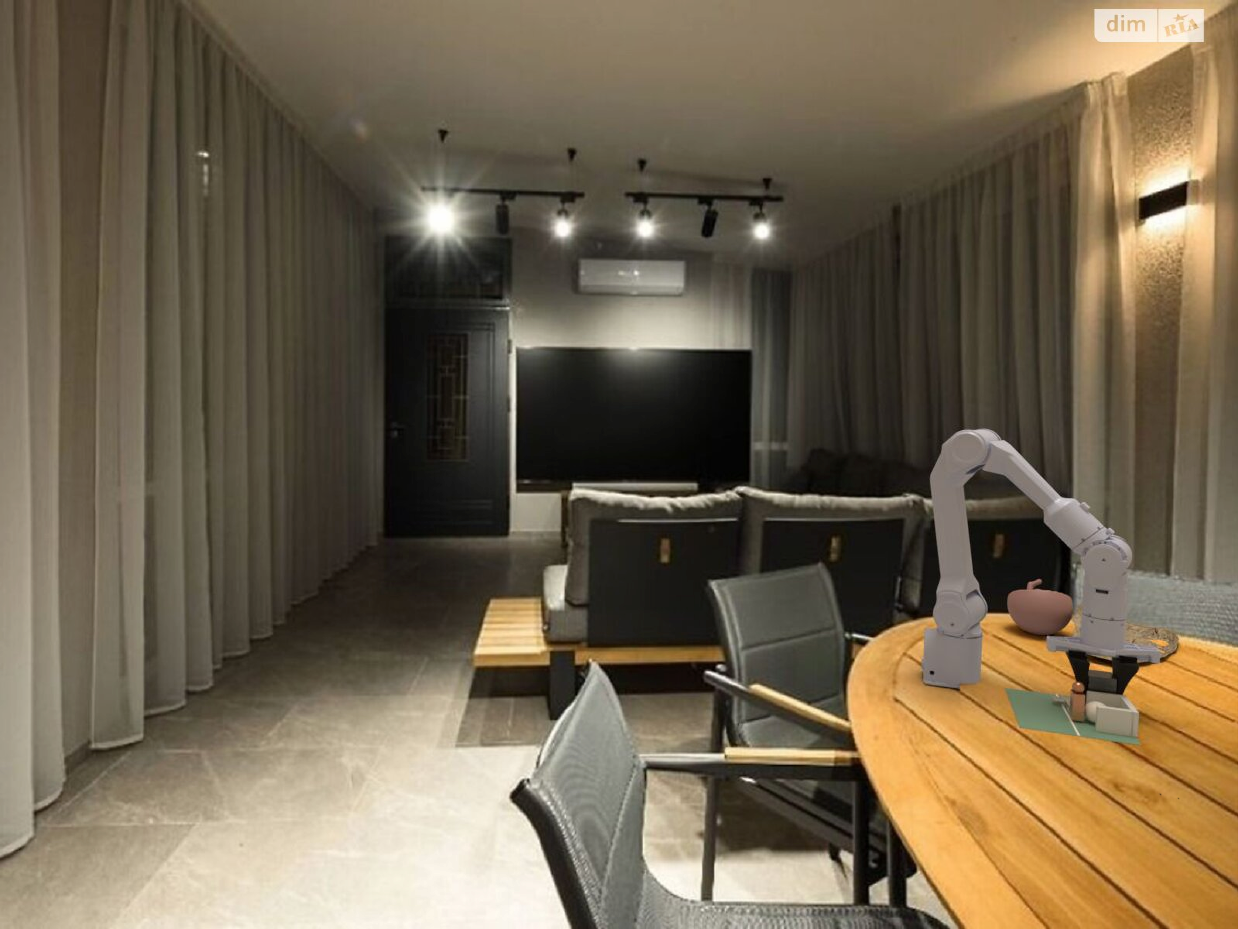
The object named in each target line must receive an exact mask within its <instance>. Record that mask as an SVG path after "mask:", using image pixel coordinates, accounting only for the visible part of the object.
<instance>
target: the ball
mask: <svg viewBox="0 0 1238 929" xmlns="http://www.w3.org/2000/svg"><path fill="white" fill-rule="evenodd" d="M1096 705H1099V706H1105V705H1104V704H1103V703H1101V702H1097V701H1092V702H1089V703H1088V704H1086V706H1085V709H1084V713H1085V716H1086V717H1087V719H1088V720H1090V721H1091V722H1093V723H1095V721H1096Z"/></svg>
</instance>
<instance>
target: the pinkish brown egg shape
mask: <svg viewBox="0 0 1238 929" xmlns="http://www.w3.org/2000/svg"><path fill="white" fill-rule="evenodd" d="M1042 582H1043V581H1042V579H1040V578H1038V579H1036V580H1034V581H1029V582H1028V583H1027V586H1026V589H1017V590H1013V591H1012V592H1010V593H1008V596H1007V601H1006V602H1007V603H1006V604H1007V610H1008V614H1009V615H1010V617H1011V619H1012V621H1013V622H1014V623H1015V624H1016V625H1017V626H1018V627H1019V628H1021V630H1023V631H1025V632H1028V633H1030V634H1032V635H1033V634H1034V635H1037V636H1038V635H1039V636H1050V635H1053V634H1057V633H1059V632H1061V631H1062V630H1064V629H1065V628H1066V627H1067V626H1068V625H1069V623H1070V622H1071V620H1072V617H1073V616H1072V614H1073V615H1074V604H1073V598H1071V596H1069V595H1068V594H1066V593H1065V594H1064V593H1063V592H1058V591H1052V590H1048V589H1047V590H1045V589H1040V588H1035V587H1036V586H1039V585H1041V584H1043V583H1042Z"/></svg>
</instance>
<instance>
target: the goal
mask: <svg viewBox="0 0 1238 929" xmlns="http://www.w3.org/2000/svg"><path fill="white" fill-rule="evenodd" d="M1092 701H1097V702H1101V703H1103V704H1104V705H1105V706H1099V705H1096V721H1095V730H1096V731H1097V732H1104V733H1111V734H1118V735H1125V736H1132V737H1136V738H1139V737H1138V734H1139V719H1140V712H1139V710H1138V709H1137V708H1136V707H1135V706H1134V705H1133V703H1132V702H1131V701H1130V699H1129V698H1128V697H1127V695H1125V694H1123V695H1117V694H1109V693H1101V692H1093V691H1087V697H1086V704H1088V703H1089V702H1092Z"/></svg>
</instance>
